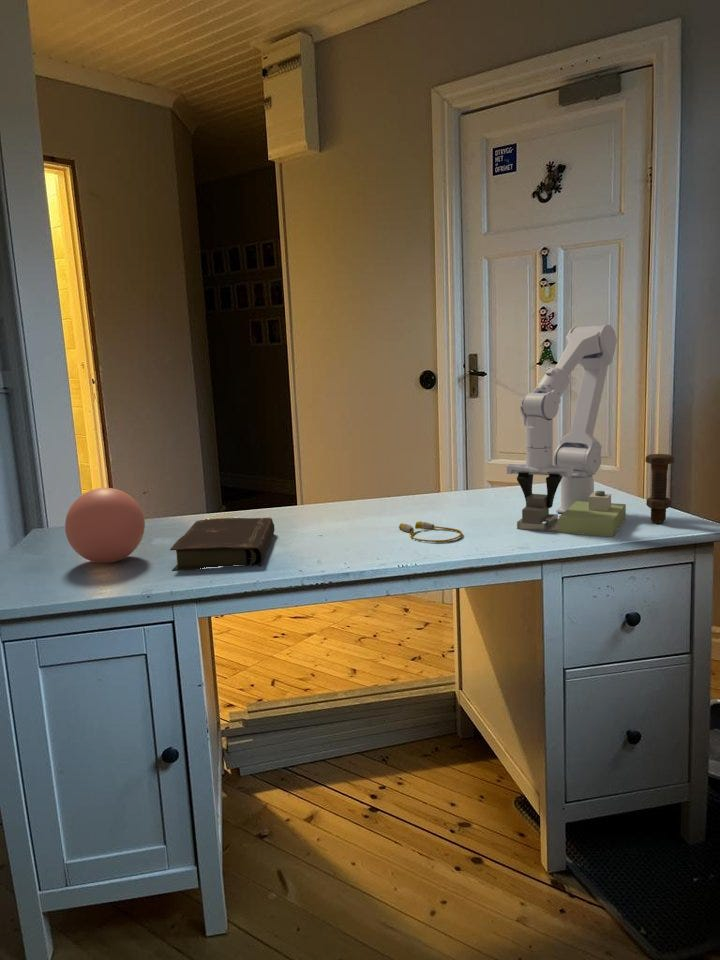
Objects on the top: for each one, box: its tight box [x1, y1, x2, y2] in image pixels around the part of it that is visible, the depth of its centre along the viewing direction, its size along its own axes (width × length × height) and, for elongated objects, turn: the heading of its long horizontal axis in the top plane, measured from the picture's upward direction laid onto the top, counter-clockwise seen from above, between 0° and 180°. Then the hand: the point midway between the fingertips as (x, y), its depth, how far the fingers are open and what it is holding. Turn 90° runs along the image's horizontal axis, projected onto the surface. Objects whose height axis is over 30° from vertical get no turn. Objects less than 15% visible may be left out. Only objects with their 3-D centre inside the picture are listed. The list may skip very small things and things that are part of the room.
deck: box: [558, 490, 627, 538], centre depth 160 cm, size 16×11×7 cm
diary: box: [169, 517, 276, 572], centre depth 154 cm, size 19×25×5 cm
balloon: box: [64, 487, 146, 564], centre depth 151 cm, size 15×20×15 cm
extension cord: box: [398, 521, 463, 543], centre depth 160 cm, size 12×16×2 cm
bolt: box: [645, 453, 675, 525], centre depth 159 cm, size 6×5×15 cm
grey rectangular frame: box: [516, 513, 560, 533], centre depth 163 cm, size 10×9×2 cm
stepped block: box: [521, 493, 550, 524], centre depth 161 cm, size 7×4×5 cm, turn 151°
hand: (539, 506), depth 164 cm, fingers closed on stepped block, 4 cm apart
